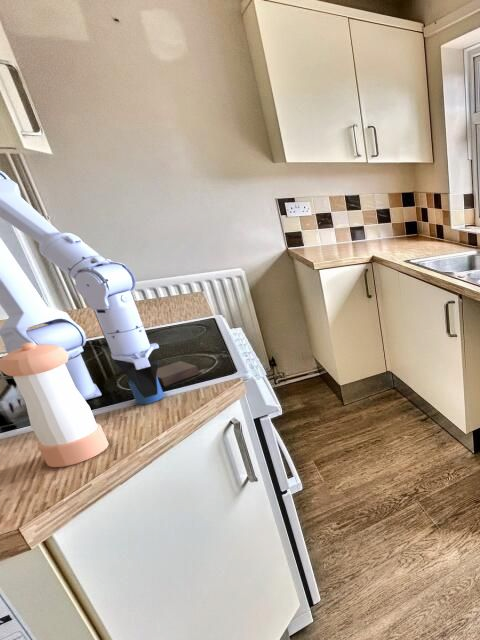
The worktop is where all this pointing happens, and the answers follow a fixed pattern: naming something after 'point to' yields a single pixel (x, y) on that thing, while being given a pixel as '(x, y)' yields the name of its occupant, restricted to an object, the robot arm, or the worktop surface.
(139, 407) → the worktop surface
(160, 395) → the bottle
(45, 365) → the pepper shaker
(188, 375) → the block
